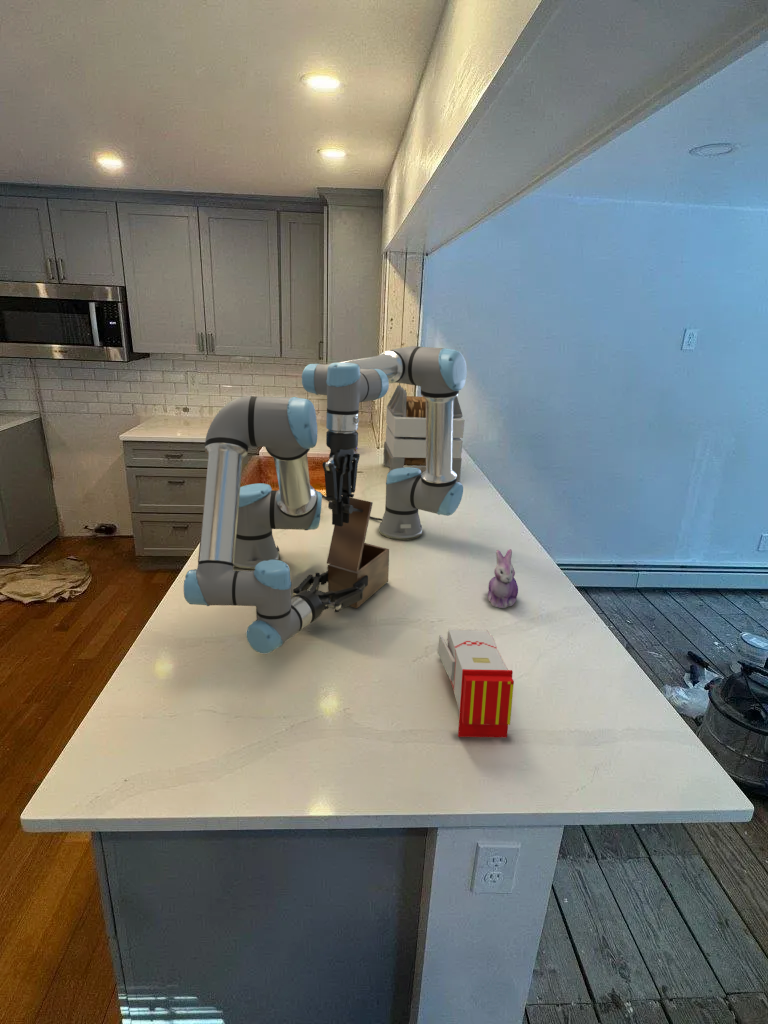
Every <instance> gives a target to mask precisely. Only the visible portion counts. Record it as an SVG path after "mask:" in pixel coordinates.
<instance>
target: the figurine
mask: <svg viewBox="0 0 768 1024" xmlns="http://www.w3.org/2000/svg"><path fill="white" fill-rule="evenodd" d="M495 555H496V566H495V567H494V573H493V574H494V576H493V577H492V578H491V579H490V580H489V582H488V591H487V600H488V601H489V603H490V605H491V606H492V607H495V608H500V609H506V608H507V607H511V606H513V605H514V604H515V603H516V601H517V597H518V595H519V585H518V583H517V579H515V575H516V571H515V567H514V565H513V564H512V558H513V557H512V556H513V550H512V548H509V549H508V550H507V551H506V553H505V555H504V556H503V554H502V551H500V550H499V549H497V550H496V551H495Z"/></svg>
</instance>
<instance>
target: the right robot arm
mask: <svg viewBox="0 0 768 1024" xmlns="http://www.w3.org/2000/svg"><path fill="white" fill-rule="evenodd" d="M467 375H468V367H467V361H466V359H465V356H464V355H463V354H462V353H461V351H459V350H457V349H450V348H448V347H434V346H433V347H431V346H419V345H412V346H405V347H399V348H393V349H390V350H384V351H382V352H381V353H380V354H379V355H374V356H369V357H363V358H358V359H352V360H345V361H339V362H331V363H328V364H322V363H321V364H320V363H309V364H307V365H306V366H305V367H304V369H303V370H302V373H301V384H302V387H303V389H304V391H306V392H307V393H310V394H314V395H317V396H318V395H321V396H326V417H325V418H326V421H325V428H326V429H327V431H326V433H325V435H326V436H325V437H326V438H325V439H326V440H325V445H326V446H327V447H328V448H329V451H330V452H329V455H328V458H329V459H328V460H327V461H323V462H322V464H321V465H322V470H323V471H324V487H325V495H324V494H322V498H324V499H325V500H327V501H328V502H330V501H332V509H331V525H333V526H334V525H336V526H343V522H344V523H349V513H345V512H343V503H344V504H350V503H349V502H350V497H351V498H354V497H355V494H354V493H355V492H356V486H357V478H358V477H357V476H358V465H359V460H360V457H361V454H360V453H357V452H355V451H354V448H356V447H357V448H358V446H359V433H358V431H357V430H359V422H360V419H359V412H360V410H359V409H360V403H363V402H371V401H373V402H374V401H377V400H379V399H382V398H383V397H385V395H387V393H388V391H389V387H390V384H395V383H396V384H403V385H410V386H417V387H420V396H421V397H424V398H425V400H426V466H425V470H424V471H423V472H422V470H421V468H419V467H413V466H411V467H409V466H406V467H404V468H397V469H393V470H391V471H390V470H389V471H388V472H387V475H386V480H385V504H384V505H385V507H384V508H385V509H384V513H383V515H382V518H380V517H375V516H371V515H370V518H369V520H370V519H371V520H374V521H379V526H378V533H379V534H380V535H381V536H382V537H385V538H387V539H389V540H395V541H410V540H415V539H418V538H420V537H421V536H422V535H423V525H422V524H421V518H420V515H419V510H420V511H424V512H428V513H432V514H436V515H438V516H440V515H442V516H445V517H446V516H447V517H448V516H449V517H450V516H452V515H453V514H454V513H456V511H457V509H458V508H459V506H460V504H461V501H462V499H463V494H464V485H463V484H462V483H461V481H460V482H457V475H456V473H455V472H454V471H453V470H452V454H453V405H454V398H455V397H456V396H457V397H458V396H459V394H460V391H462V390H463V388H464V387H465V385H466V380H467ZM314 490H315V491H317V492H319V491H318V490H316V489H315V488H314Z"/></svg>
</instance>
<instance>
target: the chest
mask: <svg viewBox="0 0 768 1024" xmlns="http://www.w3.org/2000/svg"><path fill="white" fill-rule="evenodd" d="M389 569H390V548H386V547H383V546H379V545H375V544H372V543H367V542H364V547H363V552H362V557H361V561H360V566H359V571H358V572H356V571H352V570H349V569H345V568H342V567H338V566H335V565H331V564H327V571H328V582H327V592H329V591H333V592H335V591H339V590H343V589H347V588H351V587H353V584H354V583H356V582H357V581H359V580H360V579H361V578H363V577H364V576H365V575H367V576H368V585H367V586H366V587H365V589H364V590H363V599H362V600H360V601H358V602H356V603H354V604H351V605H349V606H348V607H350V608H351V607H352V608H355V609H358V608H360V607H361V606H362V605H363V604H364V603H365V602H367V601H368V599H370V598H371V597H372V596H373V595H374V594H376V593H377V592H378V591H379V590H380V589H381V588H382V587H384V586H385V585H386V584H387V583H388V582H389V574H390V573H389V571H390V570H389Z"/></svg>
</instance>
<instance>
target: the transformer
mask: <svg viewBox="0 0 768 1024" xmlns="http://www.w3.org/2000/svg"><path fill="white" fill-rule="evenodd" d="M407 394H408V393H407V390H406V389H404V388H403V387H402V385H399V384H398V385H397V386H396V388H395V390H394V392H393V394H392V395H391V398H390V400H389V402H388V404H387V405H386V413H385V414H386V415H385V423H386V428H385V438H384V442H383V466H384V467H388V468H389V472H390V471H391V470H393V469H397V468H405V466H406V467H409V466H411V467H415V466H416V467H417V466H418V467H426V400H425V398H424V397H423V396H415V395H414V396H413V395H412V396H411V395H407ZM464 429H465V419H464V418H463V411H462V408H461V405H460V402H459V398H458V395H457V396H456V397H455V398H454V405H453V454H452V470H453V471H454V472H455V473H456V475H457V482H460V483H461V472H462V461H463V460H462V453H463V442H464V441H463V440H462V439H463V438H464V431H465V430H464Z"/></svg>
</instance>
